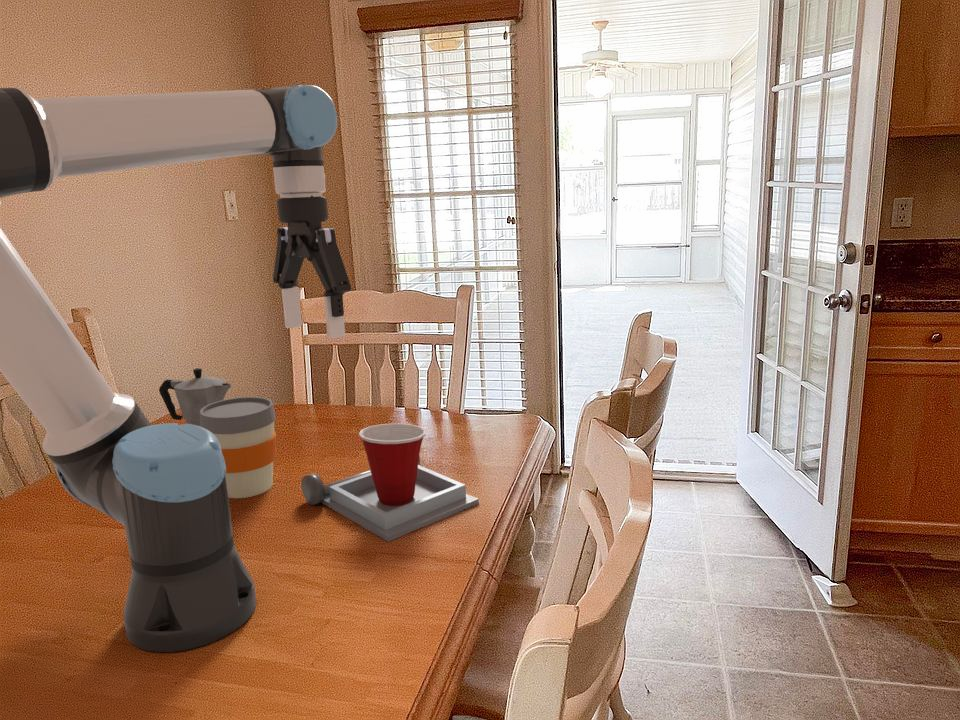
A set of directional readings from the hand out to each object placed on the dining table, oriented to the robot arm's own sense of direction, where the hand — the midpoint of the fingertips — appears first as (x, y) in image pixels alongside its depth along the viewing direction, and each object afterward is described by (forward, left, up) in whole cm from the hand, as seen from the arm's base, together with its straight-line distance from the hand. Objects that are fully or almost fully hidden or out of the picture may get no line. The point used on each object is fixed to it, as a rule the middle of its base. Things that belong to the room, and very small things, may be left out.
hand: (314, 332), depth 115 cm
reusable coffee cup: (-8, +15, -29) cm, 34 cm away
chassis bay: (+7, -9, -29) cm, 31 cm away
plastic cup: (+7, -10, -28) cm, 31 cm away
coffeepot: (-7, +37, -29) cm, 47 cm away
